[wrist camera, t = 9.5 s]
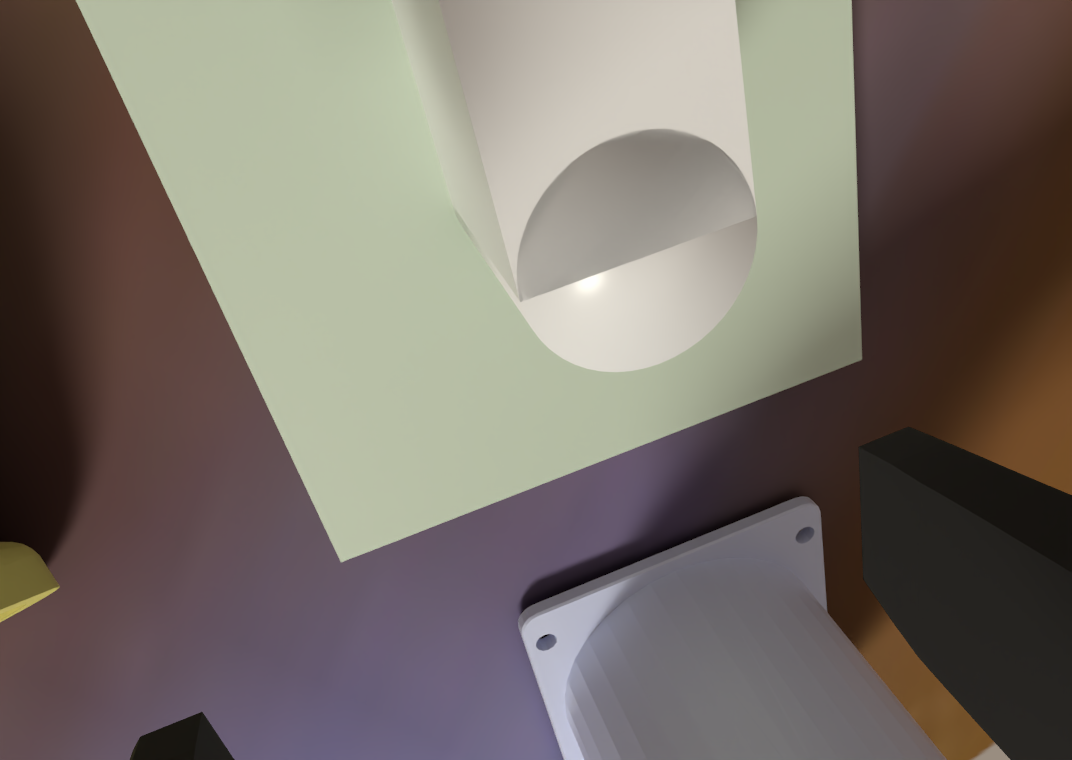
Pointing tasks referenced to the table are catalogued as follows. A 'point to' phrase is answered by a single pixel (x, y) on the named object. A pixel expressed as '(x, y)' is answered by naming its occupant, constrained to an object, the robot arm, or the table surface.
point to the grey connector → (595, 162)
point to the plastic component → (22, 578)
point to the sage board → (456, 253)
